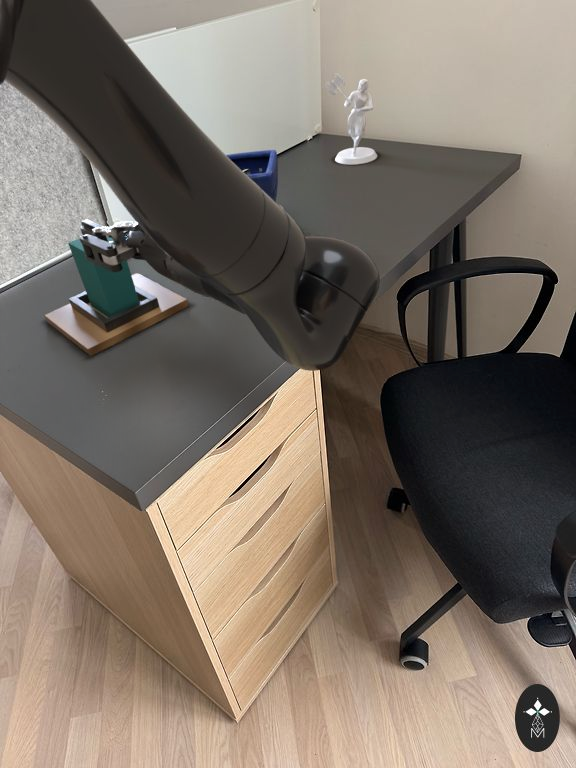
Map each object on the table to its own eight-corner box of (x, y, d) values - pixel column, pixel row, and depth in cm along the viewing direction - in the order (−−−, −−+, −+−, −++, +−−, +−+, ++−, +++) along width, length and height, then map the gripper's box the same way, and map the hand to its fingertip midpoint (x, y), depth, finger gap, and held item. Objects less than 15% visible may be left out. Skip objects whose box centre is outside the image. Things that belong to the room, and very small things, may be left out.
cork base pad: (90, 356, 75) (84, 339, 73) (47, 322, 84) (40, 306, 82) (188, 306, 83) (184, 290, 81) (139, 279, 92) (135, 264, 90)
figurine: (329, 164, 126) (323, 74, 115) (338, 151, 133) (333, 64, 122) (373, 164, 123) (372, 71, 112) (380, 150, 130) (379, 61, 119)
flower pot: (204, 249, 98) (189, 180, 91) (216, 219, 108) (204, 154, 101) (280, 244, 96) (271, 173, 89) (285, 213, 107) (278, 147, 99)
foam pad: (114, 321, 79) (91, 255, 73) (91, 306, 84) (67, 242, 78) (141, 308, 82) (121, 243, 75) (117, 293, 86) (97, 231, 80)
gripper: (250, 191, 57) (163, 165, 67) (127, 242, 50) (50, 204, 60) (260, 260, 62) (176, 226, 72) (149, 315, 55) (73, 269, 65)
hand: (119, 216), depth 66 cm, fingers open, 8 cm apart
